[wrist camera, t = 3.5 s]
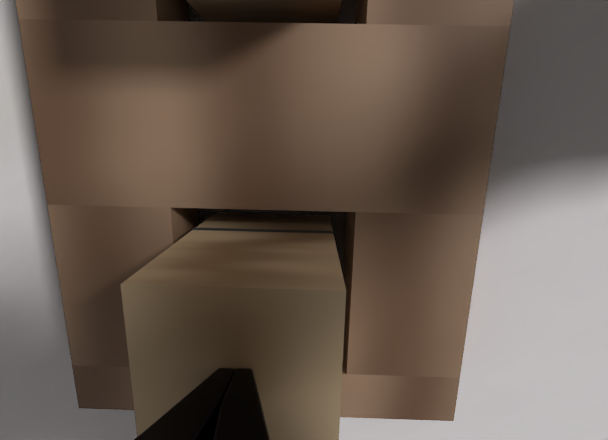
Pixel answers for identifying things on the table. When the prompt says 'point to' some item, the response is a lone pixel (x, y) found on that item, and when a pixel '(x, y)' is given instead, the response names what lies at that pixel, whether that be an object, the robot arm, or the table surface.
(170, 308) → the oak peg
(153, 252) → the walnut board
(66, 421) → the table surface
